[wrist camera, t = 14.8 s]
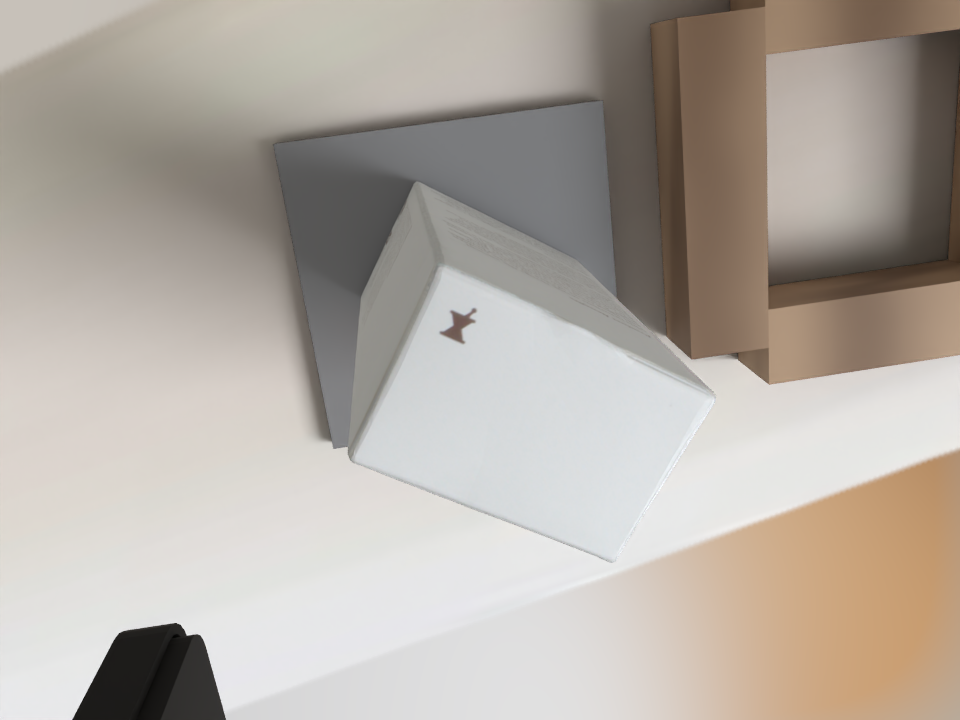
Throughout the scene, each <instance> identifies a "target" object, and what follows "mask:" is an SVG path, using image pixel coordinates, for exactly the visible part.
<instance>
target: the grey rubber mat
mask: <svg viewBox="0 0 960 720" xmlns="http://www.w3.org/2000/svg"><path fill="white" fill-rule="evenodd" d="M273 146H274V151H275V156H276V161H277V166H278V171H279V176H280V181H281V186H282V191H283V196H284V201H285V206H286V211H287V216H288V221H289V227H290V232H291V237H292V242H293V247H294V252H295V257H296V262H297V267H298V272H299V277H300V282H301V287H302V292H303V297H304V302H305V307H306V312H307V317H308V323H309V328H310V333H311V338H312V343H313V348H314V353H315V358H316V363H317V368H318V373H319V378H320V383H321V388H322V393H323V398H324V403H325V408H326V413H327V419H328V424H329V429H330V434H331V439H332V444H333V449H336V448H342V447H348V441H349V431H350V422H351V406H352V396H353V382H354V373H355V359H356V349H357V336H358V325H359V314H360V303H361V296H362V293H363V291H364V289H365V287H366V285H367V283H368V281H369V279H370V276H371V274H372V272H373V270H374V268H375V265H376V263H377V261H378V259H379V257H380V254H381V252H382V250H383V248H384V246H385V243H386V241H387V239H388V237H389V235H390V232H391V230H392V228H393V226H394V224H395V222H396V220H397V218H398V216H399V214H400V212H401V210H402V208H403V206H404V204H405V202H406V200H407V198H408V195H409V193H410V191H411V189H412V187H413V184H414V183H415V182H420V183H422V184H424V185H426V186H428V187H430V188H432V189H434V190H436V191H438V192H440V193H442V194H444V195H446V196H448V197H451V198H453V199H455V200H457V201H459V202H461V203H463V204H465V205H467V206H469V207H471V208H473V209H475V210H477V211H479V212H481V213H483V214H485V215H487V216H489V217H491V218H493V219H495V220H497V221H499V222H501V223H503V224H505V225H507V226H509V227H511V228H513V229H515V230H518V231H520V232H522V233H524V234H526V235H528V236H530V237H532V238H534V239H536V240H538V241H540V242H542V243H544V244H546V245H548V246H550V247H552V248H554V249H556V250H558V251H560V252H562V253H564V254H566V255H568V256H570V257H572V258H574V259H576V260H577V261H578V262H580V263H581V264H582V265H583V266H584V267H585V268H586V269H587V270H588V271H589V272H590V273H591V274H592V275H593V276H594V277H595V278H596V279H597V280H598V281H599V282H600V283H601V284H602V285H603V286H604V287H605V288H606V289H607V290H608V291H610V292H611V293H612V294H613V295H614V296H615V297H616V298H617V293H616V279H615V265H614V251H613V237H612V223H611V209H610V195H609V181H608V167H607V153H606V139H605V125H604V111H603V101H601V100H598V101H590V102H582V103H575V104H567V105H560V106H552V107H545V108H537V109H530V110H522V111H515V112H507V113H500V114H492V115H485V116H477V117H470V118H462V119H455V120H447V121H440V122H432V123H425V124H417V125H410V126H402V127H395V128H387V129H380V130H372V131H365V132H357V133H350V134H342V135H335V136H327V137H320V138H312V139H305V140H297V141H290V142H282V143H275V144H273Z"/></svg>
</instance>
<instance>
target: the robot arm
mask: <svg viewBox="0 0 960 720" xmlns="http://www.w3.org/2000/svg"><path fill="white" fill-rule="evenodd" d="M72 720H226V718H225V714H224V711H223V707H222V704H221V700H220V696H219V693H218V689H217V686H216V682H215V678H214V675H213V671H212V668H211V664H210V660H209V657H208V653H207V650H206V646H205V644H204V641H203V639H202V638H201V636H200V635H197V634H196V635H189V636H186V633H185V631H184V629H183V628H182V626H181V625H179V624H177V623H173V624H167V625H160V626H153V627H147V628H140V629H134V630H127V631H123V632H121V633H119V634H118V636H117V637H116V638H115V640H114V641H113V643H112V645H111V647H110V649H109V651H108V653H107V655H106V657H105V658H104V660H103V662H102V664H101V666H100V668H99V670H98V672H97V674H96V676H95V678H94V679H93V681H92V683H91V685H90V687H89V689H88V691H87V693H86V695H85V697H84V698H83V700H82V702H81V704H80V706H79V708H78V710H77V712H76V714H75V716H74V718H73V719H72Z"/></svg>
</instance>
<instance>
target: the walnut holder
mask: <svg viewBox="0 0 960 720" xmlns="http://www.w3.org/2000/svg"><path fill="white" fill-rule="evenodd" d="M650 27H651V46H652V65H653V85H654V104H655V123H656V142H657V161H658V180H659V199H660V218H661V238H662V257H663V276H664V295H665V314H666V333H667V337H668V338H669V339H670V340H671V341H672V342H673V343H674V344H675V345H676V346H677V347H679V348H680V349H681V350H682V351H683V352H684V353H685V354H686V355H687V356H688V357H690V358H691V359H699V358H705V357H712V356H718V355H725V354H731V353H738V360H739V361H740V362H741V363H743V364H744V365H745V366H746V367H748V368H749V369H750V370H751V371H753V372H754V373H755V374H756V375H758V376H759V377H760V378H762V379H763V380H764V381H765V382H767V383H768V384H769V385H770V384H776V383H783V382H789V381H795V380H802V379H808V378H815V377H821V376H828V375H834V374H840V373H847V372H853V371H860V370H866V369H873V368H879V367H885V366H892V365H898V364H905V363H911V362H918V361H924V360H930V359H937V358H943V357H950V356H956V355H960V70H959V86H958V103H957V119H956V135H955V152H954V168H953V184H952V201H951V217H950V234H949V250H948V260H942V261H935V262H929V263H922V264H915V265H908V266H902V267H895V268H888V269H881V270H875V271H868V272H861V273H854V274H848V275H841V276H834V277H827V278H821V279H814V280H807V281H800V282H794V283H787V284H780V285H774V286H768V221H767V126H766V54H774V53H781V52H789V51H797V50H804V49H812V48H820V47H827V46H835V45H842V44H850V43H858V42H865V41H873V40H880V39H888V38H896V37H903V36H911V35H918V34H926V33H934V32H941V31H949V30H956V29H960V0H730V11H729V12H721V13H713V14H705V15H697V16H689V17H682V18H675V19H671V20H667V21H662V22H658V23H654V24H650Z"/></svg>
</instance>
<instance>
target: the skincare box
mask: <svg viewBox="0 0 960 720" xmlns="http://www.w3.org/2000/svg"><path fill="white" fill-rule="evenodd" d="M715 401H716V396H715V394H714V392H713V391H712V390H711V389H710V388H709V387H708V386H706V385H705V384H704V383H703V382H702V381H701V380H700V379H699V378H698V377H697V376H696V375H695V374H694V373H693V372H692V371H691V370H690V369H689V368H688V367H687V366H686V365H685V364H684V363H683V362H682V361H681V360H680V359H679V358H678V357H677V356H676V355H675V354H674V353H673V352H672V351H671V350H670V349H669V348H668V347H667V346H666V345H665V344H664V343H663V342H662V341H661V340H660V339H659V338H657V337H656V336H655V335H654V334H653V333H652V332H651V331H650V330H649V329H648V328H647V327H646V326H645V325H644V324H643V323H642V322H641V321H640V320H639V319H638V318H637V317H636V316H635V315H634V314H633V313H632V312H630V311H629V310H628V309H627V308H626V307H625V306H624V305H623V304H622V303H621V302H620V301H619V300H618V299H617V298H616V297H615V296H614V295H613V294H612V293H611V292H610V291H608V290H607V289H606V288H605V287H604V286H603V285H602V284H601V283H600V282H599V281H598V280H597V279H596V278H595V277H594V276H593V275H592V274H591V273H590V272H589V271H588V270H587V269H586V268H585V267H584V266H583V265H582V264H581V263H580V262H578V261H577V260H576V259H574V258H572V257H570V256H568V255H566V254H564V253H562V252H560V251H558V250H556V249H554V248H552V247H550V246H548V245H546V244H544V243H542V242H540V241H538V240H536V239H534V238H532V237H530V236H528V235H526V234H524V233H522V232H520V231H518V230H515V229H513V228H511V227H509V226H507V225H505V224H503V223H501V222H499V221H497V220H495V219H493V218H491V217H489V216H487V215H485V214H483V213H481V212H479V211H477V210H475V209H473V208H471V207H469V206H467V205H465V204H463V203H461V202H459V201H457V200H455V199H453V198H451V197H448V196H446V195H444V194H442V193H440V192H438V191H436V190H434V189H432V188H430V187H428V186H426V185H424V184H422V183H420V182H415V183H414V184H413V187H412V189H411V191H410V193H409V195H408V198H407V200H406V202H405V204H404V206H403V208H402V210H401V212H400V214H399V216H398V218H397V220H396V222H395V224H394V226H393V228H392V230H391V232H390V235H389V237H388V239H387V241H386V243H385V246H384V248H383V250H382V252H381V254H380V257H379V259H378V261H377V263H376V265H375V268H374V270H373V272H372V274H371V276H370V279H369V281H368V283H367V285H366V287H365V289H364V291H363V293H362V296H361V303H360V314H359V325H358V336H357V349H356V359H355V373H354V382H353V396H352V406H351V422H350V431H349V441H348V456H349V459H350V460H351V461H352V462H353V463H356V464H358V465H361V466H364V467H366V468H369V469H371V470H374V471H376V472H379V473H381V474H384V475H386V476H389V477H391V478H394V479H396V480H399V481H402V482H404V483H407V484H409V485H412V486H414V487H417V488H420V489H422V490H425V491H427V492H430V493H432V494H435V495H438V496H440V497H443V498H445V499H448V500H451V501H453V502H456V503H458V504H461V505H464V506H466V507H469V508H471V509H474V510H477V511H479V512H482V513H485V514H487V515H490V516H493V517H495V518H498V519H501V520H504V521H506V522H509V523H512V524H514V525H517V526H519V527H522V528H525V529H527V530H530V531H533V532H535V533H538V534H541V535H543V536H546V537H548V538H551V539H553V540H556V541H558V542H561V543H564V544H566V545H569V546H571V547H574V548H576V549H579V550H582V551H584V552H587V553H589V554H592V555H594V556H597V557H599V558H601V559H604V560H606V561H608V562H612V563H613V562H615V561H616V560H617V558H618V557H619V555H620V553H621V551H622V550H623V548H624V546H625V544H626V543H627V541H628V539H629V538H630V536H631V534H632V533H633V531H634V530H635V528H636V526H637V525H638V523H639V522H640V520H641V519H642V517H643V515H644V514H645V512H646V511H647V509H648V508H649V506H650V504H651V503H652V501H653V500H654V498H655V497H656V495H657V493H658V492H659V490H660V489H661V487H662V486H663V484H664V482H665V481H666V479H667V478H668V476H669V474H670V473H671V471H672V470H673V468H674V466H675V465H676V463H677V462H678V460H679V458H680V457H681V455H682V454H683V452H684V450H685V449H686V447H687V446H688V444H689V443H690V441H691V439H692V438H693V436H694V435H695V433H696V431H697V430H698V428H699V427H700V425H701V424H702V422H703V420H704V419H705V417H706V416H707V414H708V413H709V411H710V410H711V408H712V407H713V405H714V403H715Z"/></svg>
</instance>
